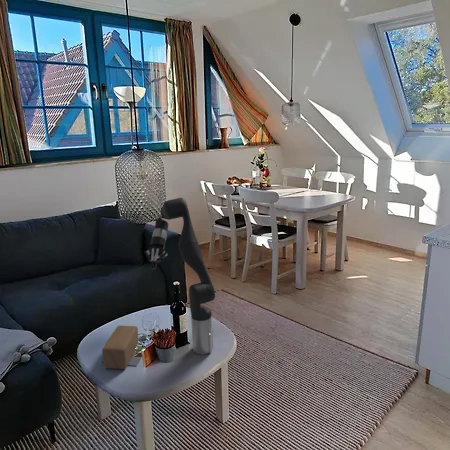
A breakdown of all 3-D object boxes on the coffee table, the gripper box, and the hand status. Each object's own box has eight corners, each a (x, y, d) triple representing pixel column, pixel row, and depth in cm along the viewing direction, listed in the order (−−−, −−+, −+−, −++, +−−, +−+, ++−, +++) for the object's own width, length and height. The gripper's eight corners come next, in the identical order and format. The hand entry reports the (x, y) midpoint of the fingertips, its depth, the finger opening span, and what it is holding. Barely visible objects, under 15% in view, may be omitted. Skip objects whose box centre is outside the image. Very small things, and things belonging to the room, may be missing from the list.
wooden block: (138, 325, 188) (123, 349, 169) (139, 343, 191) (125, 370, 172) (117, 324, 189) (101, 348, 170) (119, 343, 192) (103, 369, 173)
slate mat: (147, 348, 188) (147, 347, 188) (136, 366, 175) (136, 365, 175) (115, 345, 191) (115, 344, 190) (102, 363, 177) (102, 362, 177)
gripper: (145, 235, 210) (138, 265, 202) (169, 235, 208) (163, 266, 199) (149, 241, 216) (142, 271, 208) (172, 242, 214) (167, 272, 206)
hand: (152, 268), depth 204 cm, fingers closed
